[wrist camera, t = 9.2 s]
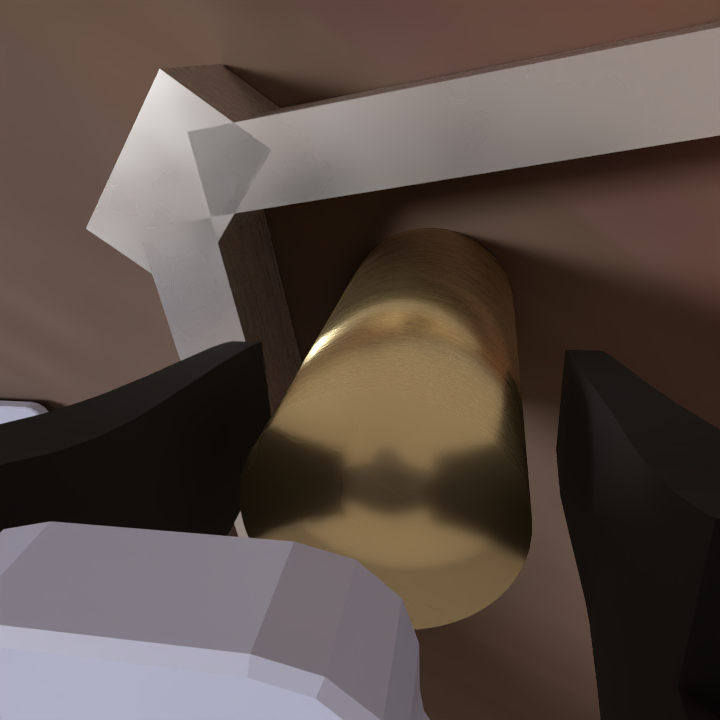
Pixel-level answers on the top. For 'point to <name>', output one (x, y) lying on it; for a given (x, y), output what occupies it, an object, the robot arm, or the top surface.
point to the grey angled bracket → (364, 163)
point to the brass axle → (406, 431)
